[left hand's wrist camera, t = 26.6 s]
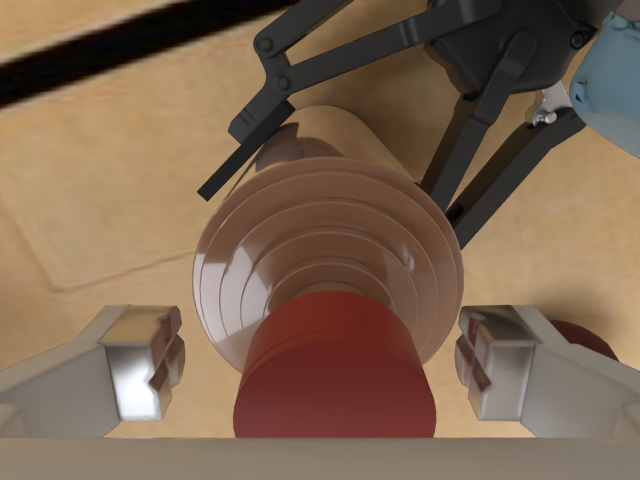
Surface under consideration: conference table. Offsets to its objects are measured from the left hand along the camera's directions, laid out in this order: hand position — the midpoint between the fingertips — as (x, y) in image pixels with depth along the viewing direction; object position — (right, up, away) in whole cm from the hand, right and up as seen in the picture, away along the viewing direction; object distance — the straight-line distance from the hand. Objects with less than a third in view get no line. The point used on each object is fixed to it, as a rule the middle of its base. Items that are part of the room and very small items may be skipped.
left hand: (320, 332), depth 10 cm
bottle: (0, +7, +21) cm, 22 cm away
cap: (0, -1, -2) cm, 2 cm away
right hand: (-3, +2, +16) cm, 16 cm away
